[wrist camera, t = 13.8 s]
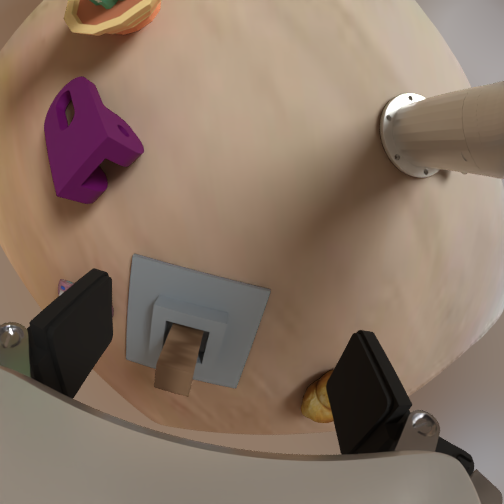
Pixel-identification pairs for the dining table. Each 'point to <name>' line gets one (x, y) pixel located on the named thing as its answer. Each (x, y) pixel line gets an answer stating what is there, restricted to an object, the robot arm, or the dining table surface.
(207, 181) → the dining table surface
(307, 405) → the bread roll
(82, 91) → the mounting bracket
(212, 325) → the grey square socket base
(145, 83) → the dining table surface
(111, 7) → the potted cactus
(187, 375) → the walnut block
